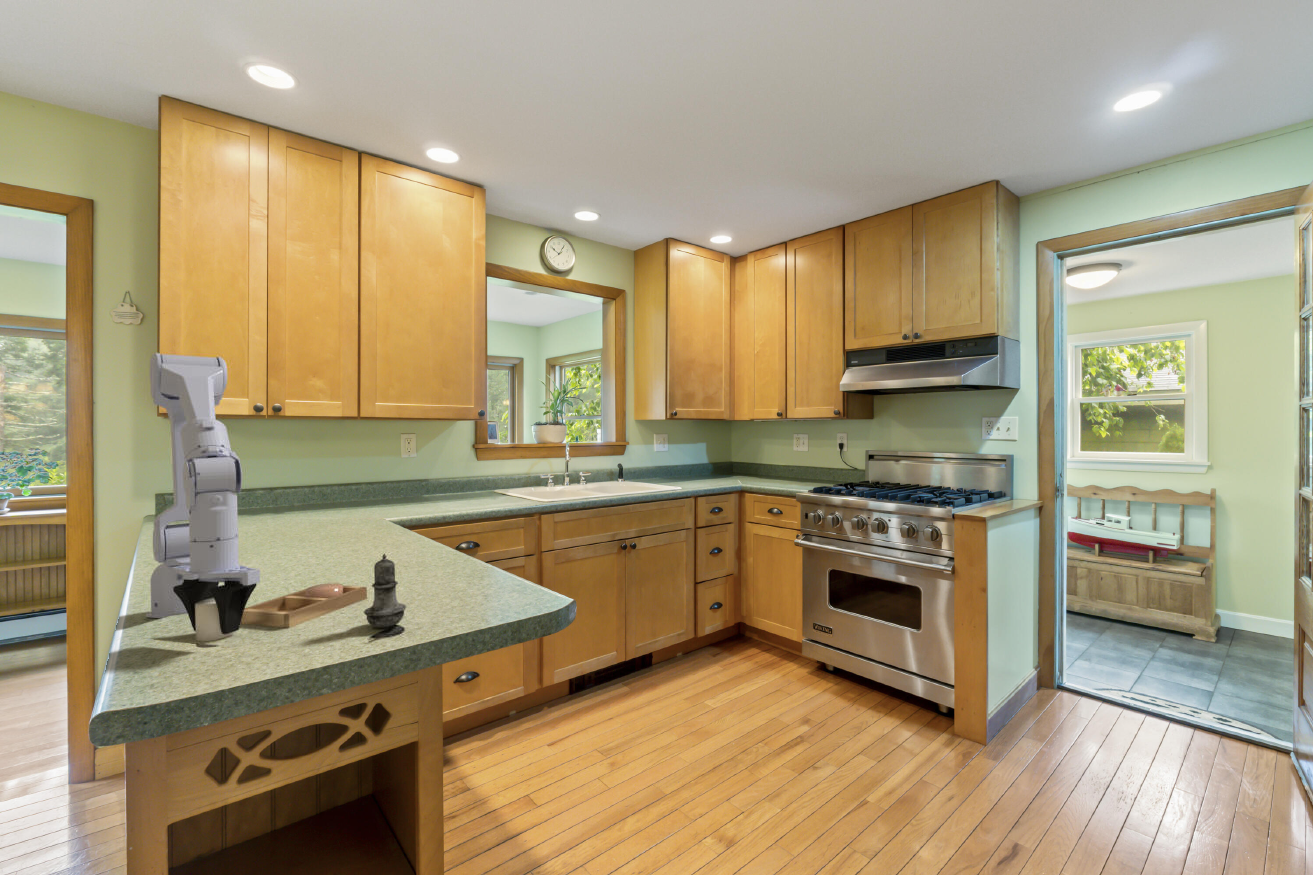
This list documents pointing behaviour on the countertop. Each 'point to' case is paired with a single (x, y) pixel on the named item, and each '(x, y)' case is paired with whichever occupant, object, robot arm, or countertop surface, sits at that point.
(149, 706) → the countertop surface
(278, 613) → the tray
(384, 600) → the salt shaker
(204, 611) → the cream cylinder
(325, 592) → the pinkish tan dome
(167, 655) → the countertop surface
